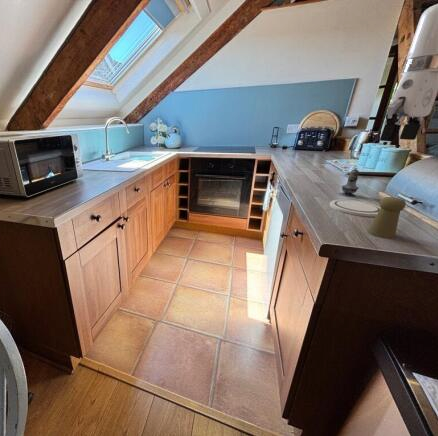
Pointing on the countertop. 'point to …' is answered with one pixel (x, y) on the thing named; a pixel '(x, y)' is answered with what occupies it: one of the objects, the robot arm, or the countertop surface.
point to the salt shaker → (351, 184)
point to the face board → (355, 207)
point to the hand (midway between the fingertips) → (397, 140)
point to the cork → (387, 217)
